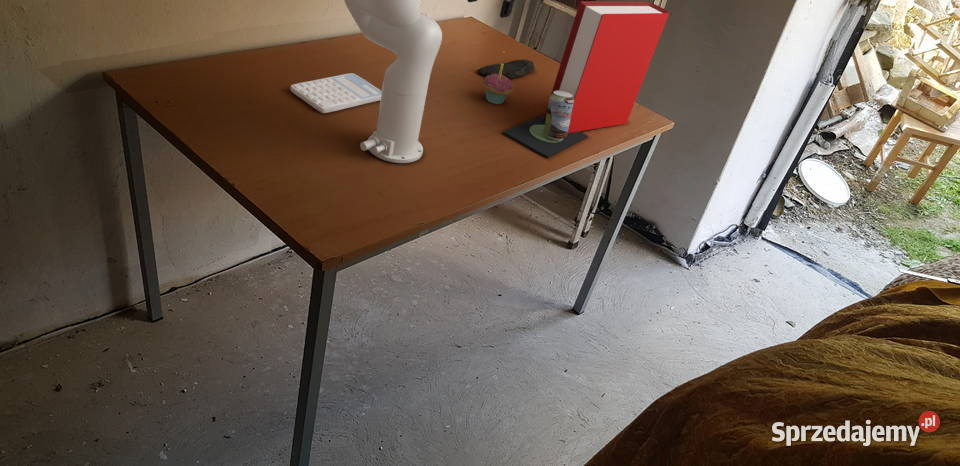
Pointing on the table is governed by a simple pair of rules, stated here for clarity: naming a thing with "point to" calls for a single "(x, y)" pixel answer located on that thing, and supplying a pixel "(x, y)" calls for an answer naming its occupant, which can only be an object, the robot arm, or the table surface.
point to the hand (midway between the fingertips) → (488, 8)
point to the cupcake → (497, 87)
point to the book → (608, 60)
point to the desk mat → (541, 137)
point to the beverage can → (558, 115)
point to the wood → (509, 68)
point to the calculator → (337, 92)
